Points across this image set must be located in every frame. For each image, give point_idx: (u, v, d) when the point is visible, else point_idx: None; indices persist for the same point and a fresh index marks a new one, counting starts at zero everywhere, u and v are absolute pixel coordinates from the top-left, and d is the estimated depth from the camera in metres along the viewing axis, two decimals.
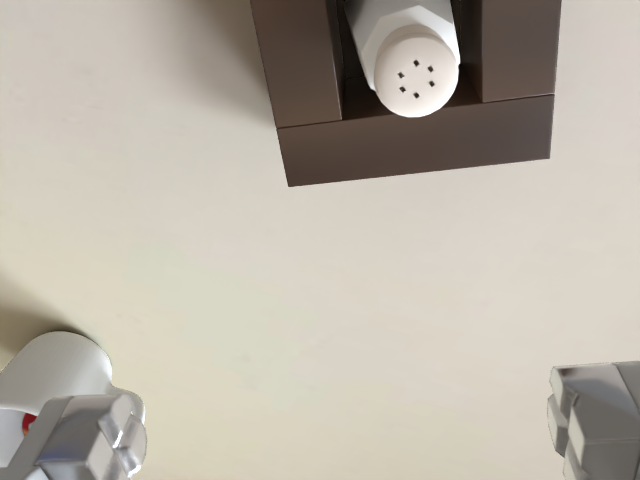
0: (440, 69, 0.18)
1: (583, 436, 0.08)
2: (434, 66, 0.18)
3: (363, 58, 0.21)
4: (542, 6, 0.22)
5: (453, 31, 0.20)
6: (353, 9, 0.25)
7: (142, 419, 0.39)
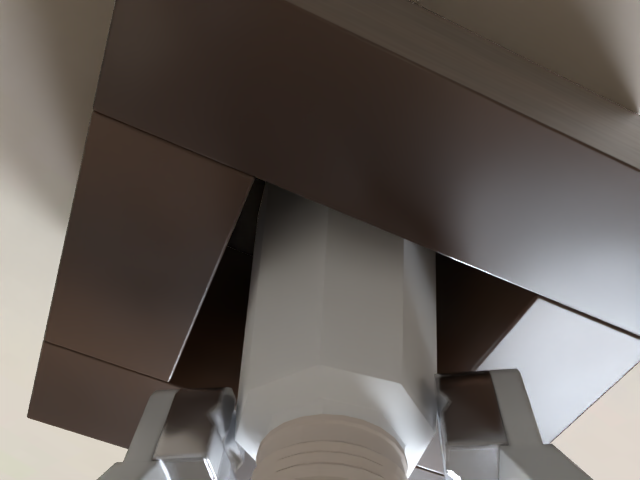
0: None
1: (444, 442, 0.09)
2: None
3: (248, 400, 0.10)
4: (558, 403, 0.13)
5: (429, 441, 0.10)
6: (281, 206, 0.14)
7: None
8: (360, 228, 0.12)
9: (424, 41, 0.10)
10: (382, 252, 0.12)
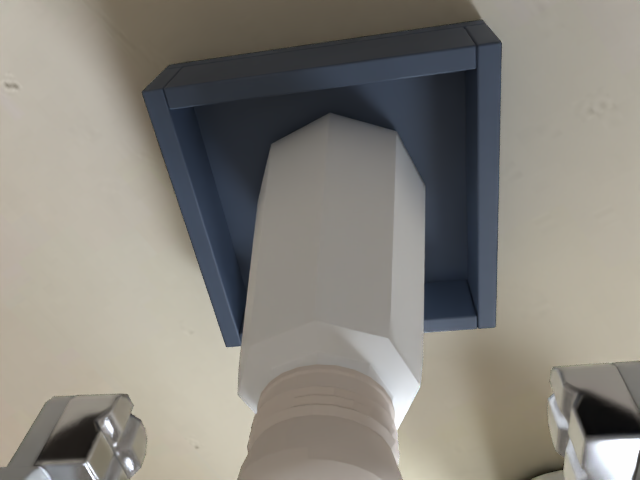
0: None
1: (583, 436, 0.08)
2: None
3: (249, 355, 0.11)
4: None
5: (415, 394, 0.11)
6: (280, 186, 0.15)
7: None
8: (353, 204, 0.13)
9: None
10: (373, 226, 0.13)
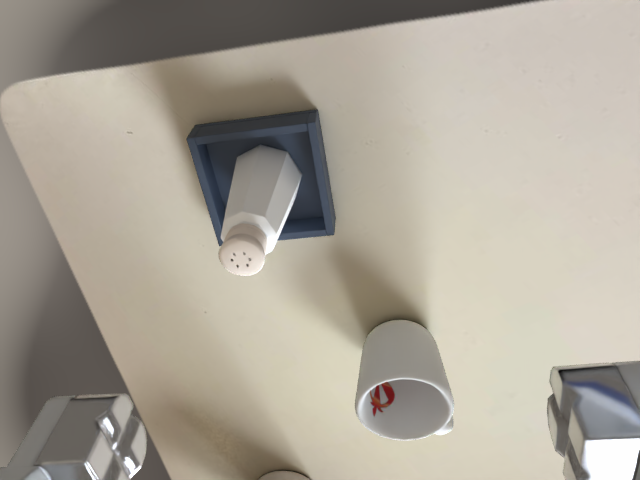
0: (254, 261, 0.33)
1: (583, 436, 0.08)
2: (252, 259, 0.33)
3: (224, 223, 0.35)
4: None
5: (275, 236, 0.35)
6: (238, 173, 0.39)
7: (451, 415, 0.50)
8: (262, 179, 0.38)
9: None
10: (267, 186, 0.37)
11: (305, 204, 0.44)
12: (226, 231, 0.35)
